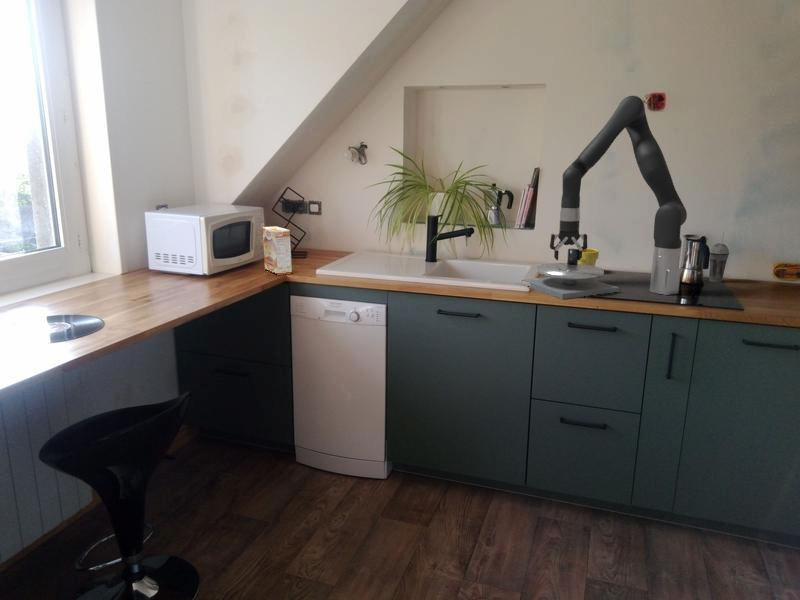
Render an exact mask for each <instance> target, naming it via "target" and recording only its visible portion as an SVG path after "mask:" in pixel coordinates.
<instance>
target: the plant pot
mask: <svg viewBox="0 0 800 600" xmlns="http://www.w3.org/2000/svg"><path fill="white" fill-rule="evenodd" d="M599 252H600V251H599V250H597V249H595V248H587V249H585V250H583V251H582V258H581V259H580V260H578V264H585V265H591V266H596V263H597V260H598V259H599V255H600V253H599Z"/></svg>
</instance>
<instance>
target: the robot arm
mask: <svg viewBox="0 0 800 600" xmlns="http://www.w3.org/2000/svg"><path fill="white" fill-rule="evenodd" d="M625 129H626V131H627V134H628V136H629V138H630V141H631V145H632V150H633V154H634V157H635V161H636V163H637V167H638V169H639V172H640V175H641V176H642V178H643V180H644V181H645V183H646V184H647V186H648V187H649V188H650V190H651V191H652V193H653V194H654V195H655V198H656V200H657V204H658V206H659V208H658V209H657V210H656V212H655V216H654V223H653V241H654V244H653V245H654V246H653V253H652V263H651V266H652V267H651V274H650V282H649V283H650V284H649V286H650V287H649V292H650V293H653V294H660V295H666V296H668V295H677V294H679V291H680V289H679V288H680V282H681V281H680V280H681V272H682V268H680V260H681V253H682V252H681V251H682V244H683V243H682V239H681V227H682V226H683V224H684V223H685V222H686V220H687V216H688V214H687V213H688V212H687V210H686V207H685V205H684V203H683V202H682V200H681V198H680V195H679V193H678V192H677V190H676V188H675V184H674V182H673V181H674V180H673V179H672V175H671V173H670V170H669V167H668V164H667V162H666V159H665V156H664V153H663V151H662V148H661V147H660V145H659V143H658V141H657V139H656V138H655V136H654V135H653V133H652V131H651V129H650V126H649V122H648V118H647V113H646V108H645V103H644V101H643V99H642V98H641V97H640V96H638V95H629V96H627V97H625V98H623V99H622V100H621V101H620V102H619V104H618V106H617V107H616V109H615V110H614V112H613V114H612V115H611V117H610V118H609V119H608V121H607V122H606V124H605V125H604V126H603V128H602V129H601V130H600V131H599V132H598V133H597V134H596V135H595V136H594V138H593V139H592V140H591V141H589V143H588V144H587V145H586V147H585V148H584V149H583V150H582V152H580V153H579V155H578V156H577V158H576V159H575V160H574V161H573V162H572V163H571V164H570V165H569V166H568V167H567V168H566V169H565V170H564V171H563V172H562V195H561V203H560V204H561V205H560V213H559V231H558V232H559V233H558V234H555V233H551V235H550V242H549V248H550V250H553V251H554V254H553V257H554V259H555V260H556V261H559V250H560V248H561V247H562V246H563V245H565V246H568V245H569V246H573V245H575V247H576V249H579V250H578V260H580V259H581V258H582V251H583V250H585V249H588V234H586V233H583V234H581V233H580V223H581V221H580V220H581V210H580V209H581V207H580V205H581V204H580V203H581V193H580V192H581V187H582V185H581V184H582V179H583V177H585V175H586V174H587V172H588V171H589V170H590V169H592V168H593V167H595V165H596V164H597V163H598V162H599V161H600V160H601V159H602V158H603V156H604V155H605V154H606V153H607V152H608V150H609V149H610V147H611V146H612V144H613V143H614V142H615V140H616V139H617V138H618V136H619V135H620V134H621V133H622V132H623V130H625ZM557 238H558V239H559V241H558V242H557V244H556V245H555V241H556V240H557ZM580 238H581V240H582V246H581V245H580V244H579V239H580Z"/></svg>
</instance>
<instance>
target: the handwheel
mask: <svg viewBox="0 0 800 600" xmlns="http://www.w3.org/2000/svg"><path fill="white" fill-rule="evenodd" d="M578 250H579V249H578V248H568V249H567V261H566V262H554V263H553V262H549V263H543V264H539V265H537V266H536V273H537V274H539V275H541V276H544V277H552V278H560V279H575V280H581V279H591V280H594V279H598V278H603V276H604V274H605V271H604V269H603V268H602V267H599V266H596V265H595V266H591V265H585V264H578Z"/></svg>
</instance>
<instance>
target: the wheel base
mask: <svg viewBox="0 0 800 600" xmlns="http://www.w3.org/2000/svg"><path fill="white" fill-rule="evenodd" d="M520 281H526V282H529V283H530V284H531V288H530V289H532V290H536V291H538V292H541V293H543V294H546V295H549V296H552V297H554V298H557V299H561V300H567V299H575V298H583V297H584V296H585V297H590V296H589V295H594V296H597V295H596V294H602V295H604V294H603V293H611V294H614V293H613V292H618V293H619V290H620V287H618V286H615V285H612V284H608V283H605V282H602V281H599V280H598V281H597V280H594V279H581V280H575V279H560V278H552V277H547V276H544V277H537V278H527V279H521V280H520Z"/></svg>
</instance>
